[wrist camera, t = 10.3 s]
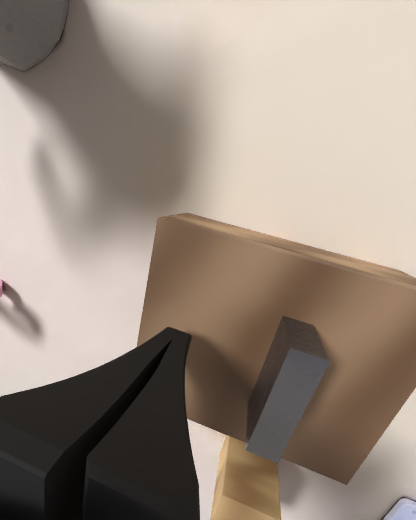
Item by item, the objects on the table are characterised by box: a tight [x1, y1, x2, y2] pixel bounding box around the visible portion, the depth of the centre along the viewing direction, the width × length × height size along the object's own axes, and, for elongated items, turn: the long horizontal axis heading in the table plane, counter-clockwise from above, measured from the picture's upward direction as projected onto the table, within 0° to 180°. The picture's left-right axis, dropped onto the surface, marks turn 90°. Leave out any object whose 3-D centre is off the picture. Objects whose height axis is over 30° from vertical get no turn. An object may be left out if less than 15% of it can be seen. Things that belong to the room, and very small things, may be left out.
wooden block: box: [210, 435, 281, 520], centre depth 17 cm, size 4×4×5 cm
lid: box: [137, 216, 416, 485], centre depth 11 cm, size 14×12×4 cm
